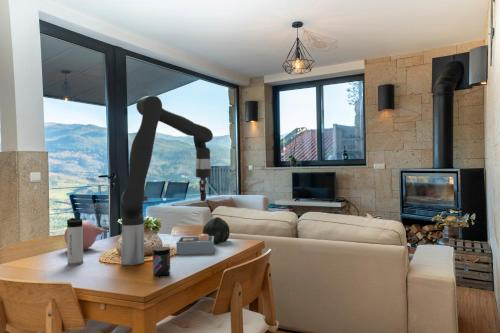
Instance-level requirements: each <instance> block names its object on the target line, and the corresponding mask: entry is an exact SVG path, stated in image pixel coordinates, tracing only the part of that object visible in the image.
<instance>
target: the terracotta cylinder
mask: <svg viewBox="0 0 500 333" xmlns="http://www.w3.org/2000/svg"><path fill="white" fill-rule="evenodd" d="M198 237H199V241H209V235H208V234H203V233H200V234H198Z"/></svg>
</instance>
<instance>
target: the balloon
mask: <svg viewBox="0 0 500 333" xmlns="http://www.w3.org/2000/svg"><path fill="white" fill-rule="evenodd" d="M82 226H83V251H84V250H87V249H89V248H91V247H92V246H94V243H95V242H96V240H97V238H98V237H99V236H100V235H103V233H106V232H107V230H106V228H105V229H104V228H103V227H102V226H101V227H98V226H96V225H94V224H93V223H92V222H90V221H89V220H84V219H82ZM64 241H65V244H66V245H67V228H66V229H65V232H64Z"/></svg>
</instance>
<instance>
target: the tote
mask: <svg viewBox="0 0 500 333" xmlns="http://www.w3.org/2000/svg"><path fill="white" fill-rule="evenodd" d="M184 238H194V242H183V239H184ZM175 247H176V255H199V254H214V251H215V250H214V249H215V243H214V236H209V241H199V236H179V238H178V239H177V240H176V246H175Z"/></svg>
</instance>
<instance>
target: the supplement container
mask: <svg viewBox="0 0 500 333" xmlns="http://www.w3.org/2000/svg"><path fill="white" fill-rule="evenodd" d="M152 274H153V276H154V277H155V278H165V277H168V276H170V275H171V247H170V246H157V247H153V248H152Z"/></svg>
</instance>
